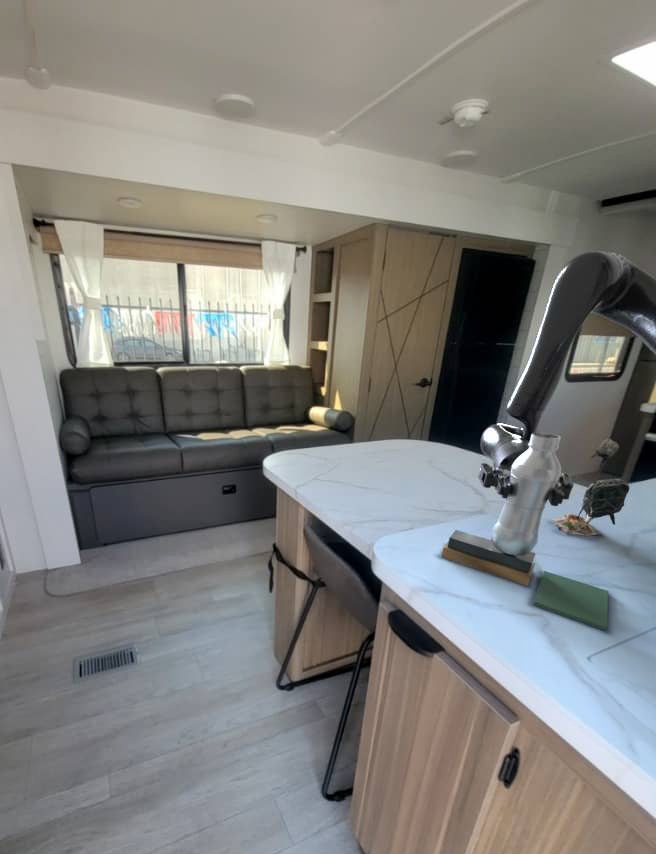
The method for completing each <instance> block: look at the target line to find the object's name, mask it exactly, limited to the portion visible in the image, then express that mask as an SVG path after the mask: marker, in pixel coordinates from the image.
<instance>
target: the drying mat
mask: <svg viewBox="0 0 656 854" xmlns="http://www.w3.org/2000/svg"><path fill="white" fill-rule="evenodd" d="M537 588H538V589H537V591H536V595H535V598H534V602H533V605H534V606H536V607H538V608H542V609H545V610H547V611H550V612H552V613H555V614H558V615H561V616H564V617H567V618H570V619H572V620H574V621H578V622H580V623H584V624H586V625H588V626H591V627H595V628H598V629H600V630H602V631H607V629H608V615H609V613H608V612H609V590H607V589H605V588H604V589H603V588H600V587H597V586H593V585H591V584H588V583H584V582H581V581H578V580H575V579H571V578H568V577H565V576H562V575H559V574H556V573H552V572H550V571H546V570H543V571H542V574H541V577H540V581H539V585H538V587H537Z"/></svg>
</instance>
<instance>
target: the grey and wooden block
mask: <svg viewBox="0 0 656 854" xmlns="http://www.w3.org/2000/svg"><path fill="white" fill-rule="evenodd" d="M535 556H536V552H533V551H531V552H530V553H528V554H526V555H521V556H518V555H511V554H507V553H504V552H502V551H500V550H498V549H496V548H495V547H494V546H493V544H492V541H491V539H489V538H485V537H482V536H478V535H475V534H472V533H468V532H465V531H462V530H458V529H455V530H454V532H452V534H451V535H450V536H449V538H448V540H447V542H446V544H445V545H444V546H443V548H442V553H441V555H440V557H441V558H444V559H447V560H450V561H453V562H455V563H459V564H462V565H464V566H468V567H470V568H474V569H476V570H479V571H482V572H485V573H488V574H492V575H494V576H497V577H499V578H503V579H506V580H509V581H512V582H515V583H518V584H520V585H524V586H527V587H528V586H529V584H530V582H531V581H530V580H531V578H532V575H533V572H534V569H535V566H536V562H534V559H535Z"/></svg>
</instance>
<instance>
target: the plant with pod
mask: <svg viewBox="0 0 656 854" xmlns="http://www.w3.org/2000/svg"><path fill="white" fill-rule="evenodd" d="M619 449H620V445H619V444H618V443H617V442H616V441H615V440H612V438H605V439H603V440H602V442H600V444H599V445H598V446H596V448H595V453H594V454H593V455H592V456H591V459H594V458H596V457H600V458H602V459H603V461H602V463H601V465H600V468H599V471H598V472H597V475H596V478H595V480H594V482H592V483H591V484H589V486H588V488H587V489H586V490H585V493H584V494H583V499H582V503H581V510H580V511H579V513H578V515H576V514H571V513H566V514H564V517H557V518H553V519H551V521H553V522H554V524H555V526H556V527H557V530H558V531H561V532H563V533H567V534H570V535H579V536H584V537H586V538H587V537H590V536H598V535H602V534H603V533H601V532H598V531H597V530H596V529H594V527H592V525H591V524H589V523H591V522H592V521H593V520H594V519H598V518H602V517H606V516H608V517H609V519H610V520H611V523H612V525H616V520H615V519H616V517H615V514H617V513H619V512H621V511H622V509H623V507H624V506H625V500H626V498H627V496H628V493H629V492H630V487H631V486H630V485H629V483H628V482H626V481H624V480H622V479H621V478H610V479H601V480H599V479H600V477H601V475H602V472H603V470H604V467H605V466H606V463H607V460H610V459H611V458H612V457H614V456H615V454H616V453H617V452H618V450H619ZM583 511H584V512H585V516H584V517H582V516H580V515H581V514H582V513H583Z"/></svg>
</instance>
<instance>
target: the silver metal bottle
mask: <svg viewBox="0 0 656 854" xmlns="http://www.w3.org/2000/svg"><path fill="white" fill-rule="evenodd" d="M561 438H562V436H560V435H558V434H555V433H550V432H542V431H537V432H534V433H532V435H531V438H530V441H529V443H528V446H530V447H529V449H528V450H527V451H525V452H524V453H523V454H521V455H520V456H519V457H518V458H517V459H516V460H515V461H514V463H513V464H512V468H511V475H510V485H511V488H510V492H509V495H508V498H507V499H506V498H505V501H504V504H503V508H502V509H501V512H500V515H499V517H498V519H497V520H496V522H495V523H494V526H493V528H492V530H491V534H490V540H491V541H492V544H493V546H494V547H495V548H496V549H498V550H500V551H502V552H504V553H507V554H511V555H518V556H521V555H526V554H528V553H530V552H533V550H534V548H535V547H536V546H537V543H538V539H539V529H540V525H541V520H542V517H543V512H544V510H545V507H546V505H547V504H548V501H549V500H548V498H549V496H550V494H551V492H552V490H553V488H554V487H555V485H556V483H557V481H558V479H559V477H560V476H562V466H561V463H560V460H559V458H558V457H557V454H556V451H558V450H559V448H560V446H559V445H560V442H561Z"/></svg>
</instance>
